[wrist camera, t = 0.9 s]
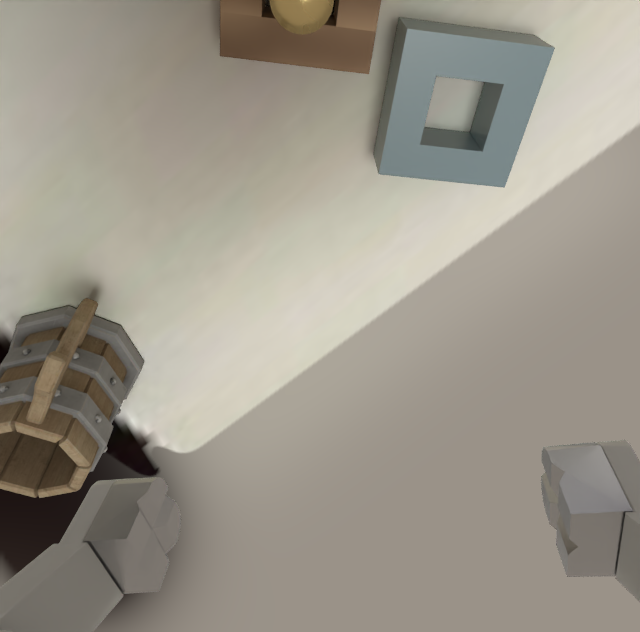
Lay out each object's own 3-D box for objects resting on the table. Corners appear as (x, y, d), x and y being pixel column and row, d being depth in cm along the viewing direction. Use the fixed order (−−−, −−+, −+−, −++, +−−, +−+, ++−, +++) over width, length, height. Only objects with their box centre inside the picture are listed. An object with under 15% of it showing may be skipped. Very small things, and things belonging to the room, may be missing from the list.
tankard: (119, 408, 62) (76, 527, 51) (6, 370, 58) (-70, 491, 47) (181, 287, 52) (144, 403, 40) (47, 231, 48) (-37, 342, 36)
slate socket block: (398, 17, 37) (407, 28, 34) (534, 35, 38) (554, 47, 35) (373, 153, 44) (378, 174, 40) (490, 166, 44) (504, 187, 41)
